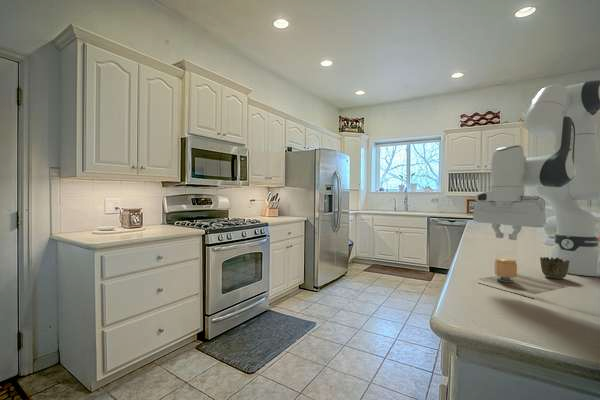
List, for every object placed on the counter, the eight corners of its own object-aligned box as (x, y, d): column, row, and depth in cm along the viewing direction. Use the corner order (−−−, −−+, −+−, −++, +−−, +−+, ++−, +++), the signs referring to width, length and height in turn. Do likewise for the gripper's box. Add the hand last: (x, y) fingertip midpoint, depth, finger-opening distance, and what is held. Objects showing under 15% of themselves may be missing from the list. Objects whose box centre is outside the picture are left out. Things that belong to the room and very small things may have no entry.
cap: (501, 272, 96) (501, 257, 96) (519, 276, 91) (519, 260, 91) (491, 274, 94) (491, 259, 94) (509, 278, 89) (509, 262, 89)
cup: (575, 285, 93) (575, 261, 93) (552, 285, 93) (552, 260, 93) (555, 279, 101) (555, 256, 101) (534, 279, 101) (534, 256, 101)
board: (514, 277, 103) (514, 273, 103) (571, 290, 88) (571, 285, 88) (477, 283, 94) (477, 278, 94) (533, 299, 80) (534, 293, 80)
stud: (502, 278, 95) (502, 260, 95) (516, 282, 91) (517, 263, 91) (493, 279, 93) (494, 261, 93) (508, 283, 89) (508, 264, 89)
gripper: (551, 196, 84) (550, 243, 84) (482, 196, 103) (481, 234, 103) (539, 195, 81) (538, 244, 81) (470, 195, 100) (469, 235, 100)
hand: (505, 238), depth 92 cm, fingers open, 3 cm apart
